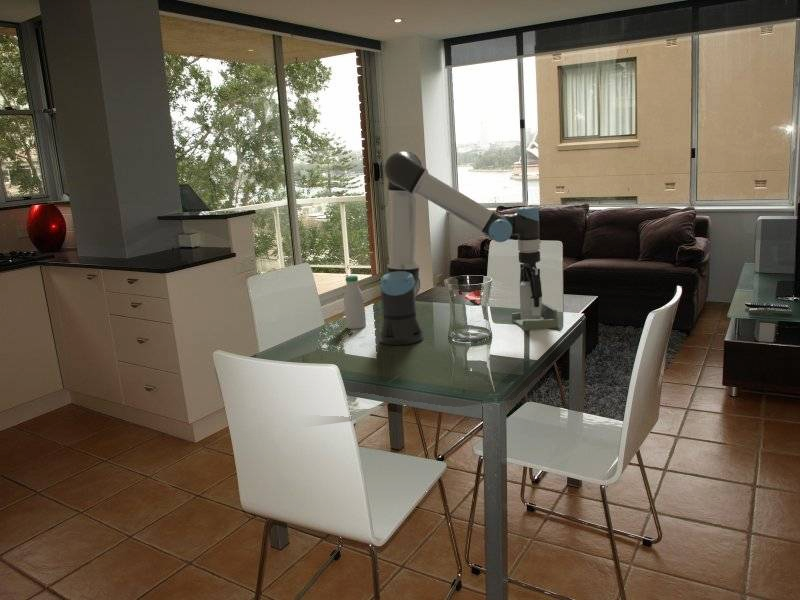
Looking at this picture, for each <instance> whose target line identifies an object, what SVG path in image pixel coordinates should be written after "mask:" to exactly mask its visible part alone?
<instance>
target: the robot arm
mask: <svg viewBox="0 0 800 600" xmlns="http://www.w3.org/2000/svg"><path fill="white" fill-rule="evenodd" d="M383 169H384V175H385V177H386V180H387V191H388V192H389V194H390V195H391V196H392V197H391V261H390V262H389V263H388V264H387V266H386V267H387V271H386V272H387V273H386V274H384V275H382V276H381V278H380V284H379V285H380V286H379V287H380V292H381V304H382V305H381V306H382V315H383V317H382V318H383V319H382V320H383V321H382V325H381V329H380V332H379V333H380V334H379V339H380V343H381V344H384V345H387V346H388V345H390V346H405V345H410V344H415V343H419V342H421V341H422V340H423V339H424V333H423V330H422V327H421V324H420V322H419V319H418V317H417V307H416V306H417V305H416V296H417V295H418V293H419V292H420V289H421V280H420V265H419V264H418V263H417V262H416V228H417V227H416V223H417V221H416V220H417V218H416V217H417V216H416V215H417V196H418V195H420V196H421V197H422V198H424V199H426V200H428V201H429V202H431V203H433V204H434V205H436V206H437V207H440V208H441V209H442V210H444V211H446V212H448V213H450V214H451V215H453V216H455V217H457V218H458V219H460V220H461V221H463V222H465V223H467V224H468V225H470V226H471V227H473V228H475V229H476V230H478V231H480V232H482V233H483V235H484V236H485V237H488V238H489V237H490V238H491V240H493V241H494V242H497V243H504V242H506V241H508V240H510V238H511V236H517V249H518V262H519V263H520V264H519V267H520V268H519V269H520V271H519V272H520V274H519V285H520V284H521V282H522V281H523V282H526V281H530V286H531V291H532V296H531V299H532V316H539V315H540V297H543V291H542V280H541V269H540V268H538V267H537V265H536V264H537V263H540V262H541V251H540V249H541V247H540V246H541V243H542V242H541V241H542V240H540V216H539V215H540V214H539V209H538V207H535V206H524V207H522V206H521V207H518V208H517V209H516V212H515V213H512V214H510V213H509V214H497V213H495V212H493V211H492V210H490V209H489V208H488V207H486V206H484V205H482V204H481V203H478V202H477V201H475V200H473V199H472V198H470V197H468V196H467V195H465V194H464V193H462V192H460V191H459V190H456V188H454V187H452V186H450V185H449V184H447V183H445V182H443V181H442V180H440V179H439V178H436V177H435V176H434V175H432V174H430V173H429V169H428V168H426V167H424V166H423V164H422V161H421V160H420V158H419V157H418V156H417V155H416V154H414V153H413V152H411V151H397V152H394V153H393V154H391V155H390V156H389V157H388V158H387V159H386V160H385V164H384V168H383Z"/></svg>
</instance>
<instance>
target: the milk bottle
mask: <svg viewBox="0 0 800 600" xmlns="http://www.w3.org/2000/svg"><path fill="white" fill-rule="evenodd" d="M358 279H359V277H358V276H357V275H348V276H345V283H346V287H345V291H344V295H343V305H344V316H345V326H346V328H347V329H349V330H358V329H363V328H365V327H366V326H367V323H366V322H367V319H366V310H365V300H364V294H363V293H362V290H361V289H360V286H359V284H358V281H359V280H358Z"/></svg>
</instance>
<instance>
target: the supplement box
mask: <svg viewBox="0 0 800 600" xmlns="http://www.w3.org/2000/svg"><path fill="white" fill-rule="evenodd" d="M531 296H532V291H531V286H530V281H526V282H523V281H522V282H521V284H520V283H519V305H520V306H519V308H520V309H519V310H520V311H519V312H520V313H521V319H541V315H542V303H543V299H542V297H543V296H542V297H540V315H539V316H532V299H531Z"/></svg>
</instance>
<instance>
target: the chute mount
mask: <svg viewBox="0 0 800 600" xmlns="http://www.w3.org/2000/svg"><path fill="white" fill-rule="evenodd" d="M557 316H558V311H557V309H556V308H553V307H551V306H550V305H548V304H547V303H545V302H542V315H541V319H521V313H520V311H519V312H512V313H511V321H512V323H514V324H515V325H516V326H518V327H520V328H521V329H522V330H524V331H525V332H529V331H538V330H545V329H554V328H555V329H556V328H559V318H558V317H557Z"/></svg>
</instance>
